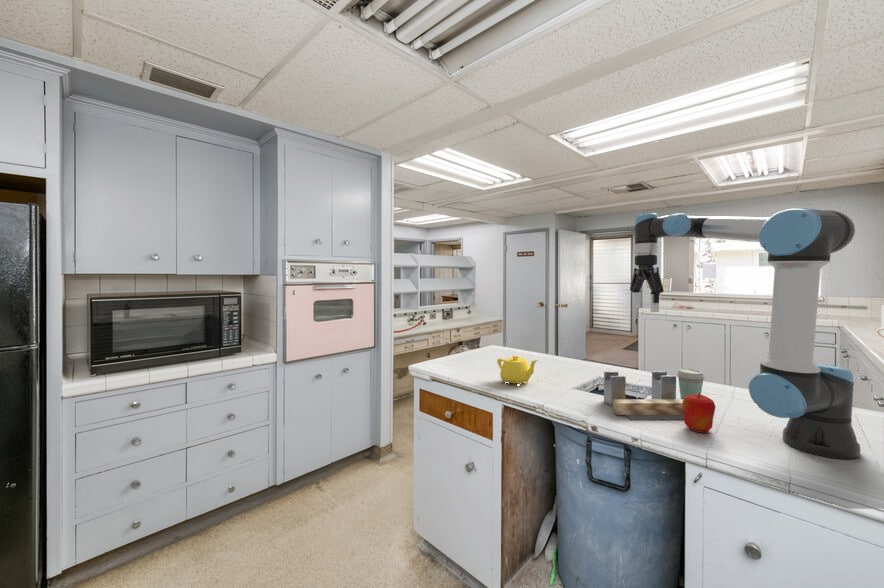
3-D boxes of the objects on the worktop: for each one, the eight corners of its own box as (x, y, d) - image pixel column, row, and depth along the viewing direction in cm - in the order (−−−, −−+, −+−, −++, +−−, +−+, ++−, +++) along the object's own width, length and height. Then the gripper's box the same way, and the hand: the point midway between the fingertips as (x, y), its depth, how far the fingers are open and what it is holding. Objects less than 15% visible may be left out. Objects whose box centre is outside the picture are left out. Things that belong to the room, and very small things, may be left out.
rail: (687, 410, 130) (687, 399, 130) (695, 414, 126) (695, 403, 126) (612, 410, 131) (612, 399, 131) (617, 414, 127) (617, 403, 127)
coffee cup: (708, 407, 135) (709, 374, 134) (682, 405, 136) (683, 373, 136) (697, 399, 143) (698, 368, 142) (673, 398, 145) (673, 367, 144)
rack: (675, 407, 134) (676, 376, 134) (611, 407, 135) (611, 376, 135) (664, 401, 141) (665, 371, 141) (603, 401, 142) (603, 371, 142)
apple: (685, 422, 121) (686, 386, 121) (717, 429, 115) (718, 392, 115) (678, 429, 115) (679, 392, 115) (711, 438, 109) (712, 398, 109)
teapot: (532, 390, 157) (532, 361, 156) (490, 383, 169) (490, 356, 168) (544, 383, 167) (544, 356, 167) (504, 376, 179) (504, 351, 179)
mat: (703, 419, 123) (703, 418, 123) (630, 419, 124) (630, 418, 124) (685, 409, 133) (685, 407, 133) (617, 409, 134) (617, 407, 134)
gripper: (675, 252, 129) (674, 313, 130) (639, 256, 154) (639, 307, 155) (653, 253, 129) (652, 313, 130) (621, 256, 154) (620, 307, 155)
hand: (645, 310), depth 143 cm, fingers open, 13 cm apart
